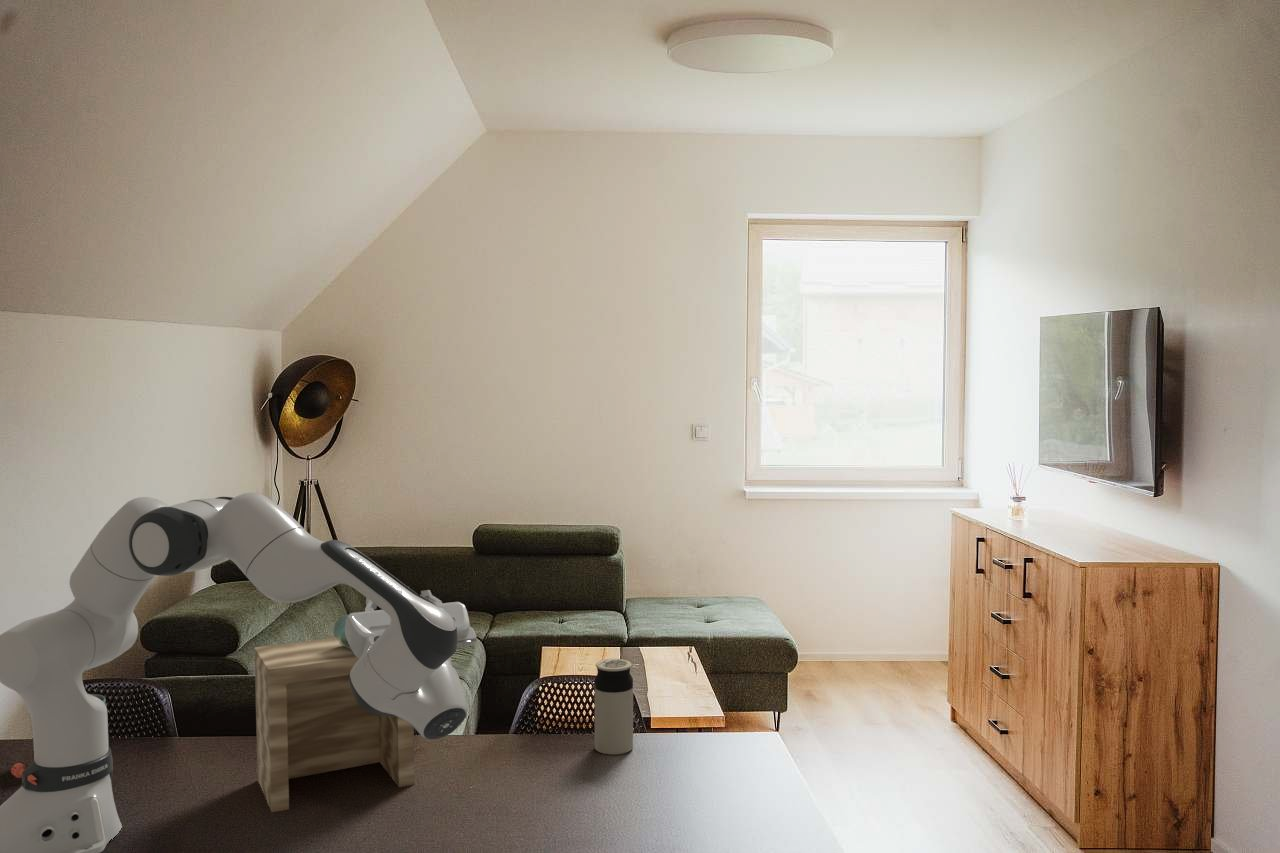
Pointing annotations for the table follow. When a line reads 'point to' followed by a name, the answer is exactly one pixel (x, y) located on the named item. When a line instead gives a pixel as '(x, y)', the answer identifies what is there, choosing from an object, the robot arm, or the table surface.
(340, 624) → the teal maraca
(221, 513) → the robot arm
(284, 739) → the oak shelf
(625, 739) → the travel mug
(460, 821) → the table surface
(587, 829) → the table surface
